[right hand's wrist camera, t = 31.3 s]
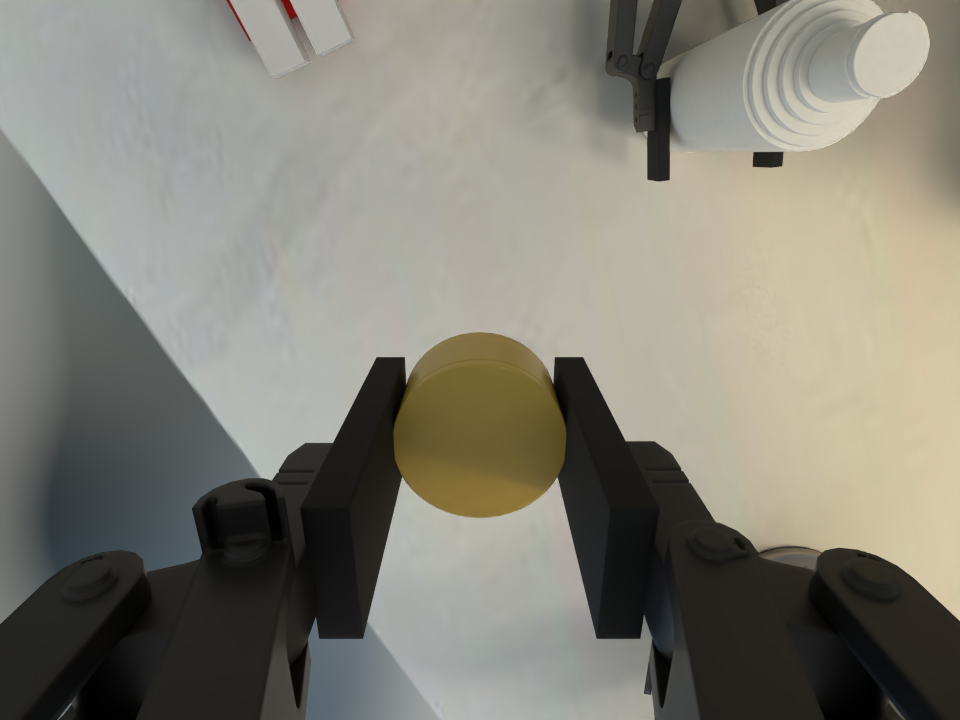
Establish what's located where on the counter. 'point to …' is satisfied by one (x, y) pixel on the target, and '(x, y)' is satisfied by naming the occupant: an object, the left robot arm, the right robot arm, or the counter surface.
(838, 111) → the bottle
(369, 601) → the right robot arm
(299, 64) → the toy
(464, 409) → the cap
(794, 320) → the counter surface
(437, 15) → the counter surface
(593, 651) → the counter surface
